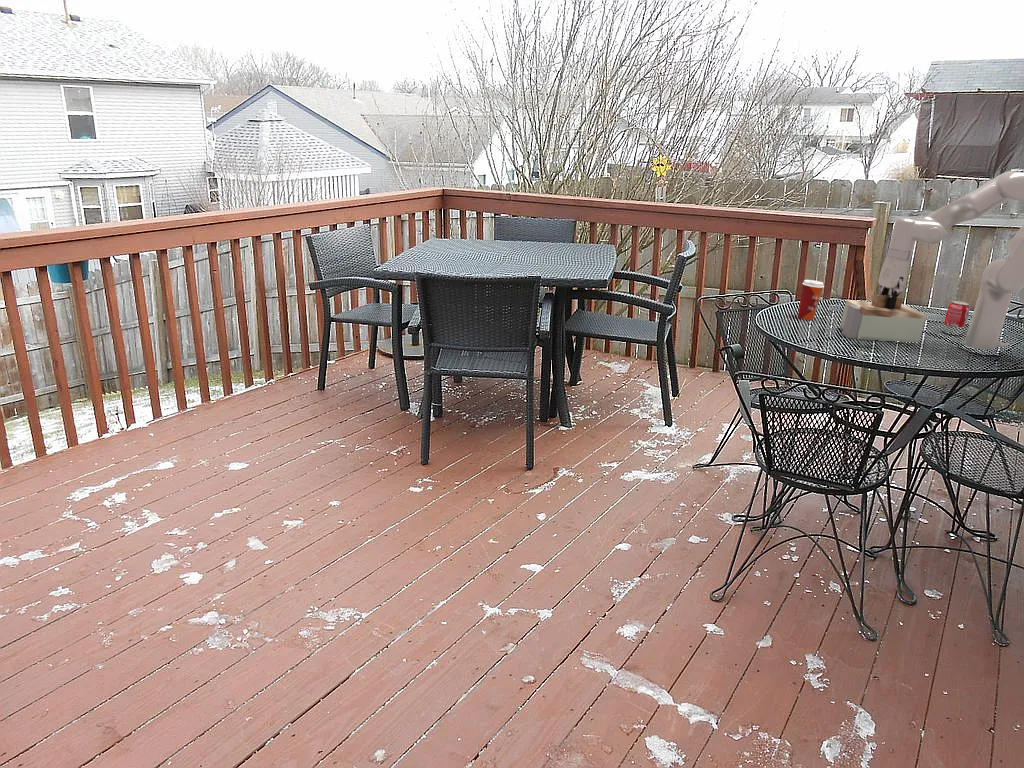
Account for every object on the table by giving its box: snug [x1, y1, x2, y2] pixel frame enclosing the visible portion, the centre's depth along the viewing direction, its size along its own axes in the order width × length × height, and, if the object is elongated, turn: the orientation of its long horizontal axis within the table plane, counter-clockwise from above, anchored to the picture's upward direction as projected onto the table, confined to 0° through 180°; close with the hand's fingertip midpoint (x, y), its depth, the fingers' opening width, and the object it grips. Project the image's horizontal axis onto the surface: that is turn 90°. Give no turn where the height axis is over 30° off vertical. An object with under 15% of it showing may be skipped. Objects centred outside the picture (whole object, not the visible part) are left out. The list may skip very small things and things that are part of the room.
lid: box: [845, 293, 927, 320], centre depth 269 cm, size 22×14×6 cm, turn 92°
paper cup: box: [797, 279, 825, 321], centre depth 287 cm, size 8×8×14 cm
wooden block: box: [859, 306, 893, 317], centre depth 255 cm, size 9×4×2 cm, turn 92°
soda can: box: [943, 300, 971, 328], centre depth 285 cm, size 7×7×12 cm
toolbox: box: [839, 303, 926, 343], centre depth 271 cm, size 25×14×10 cm, turn 92°
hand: (885, 306), depth 269 cm, fingers open, 4 cm apart
